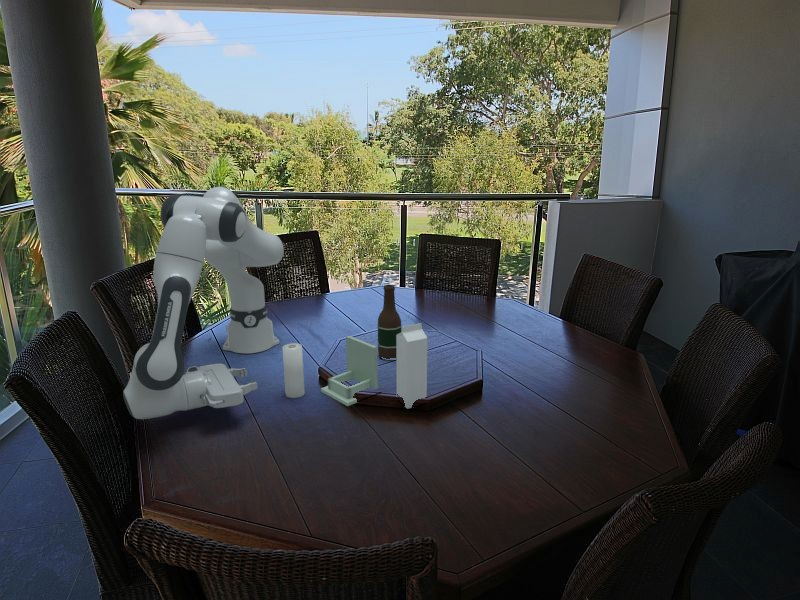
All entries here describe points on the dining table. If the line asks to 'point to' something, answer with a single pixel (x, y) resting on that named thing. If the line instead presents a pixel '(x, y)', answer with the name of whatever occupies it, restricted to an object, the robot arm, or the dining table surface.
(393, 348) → the beer bottle
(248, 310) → the robot arm
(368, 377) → the holder
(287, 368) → the roll
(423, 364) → the milk
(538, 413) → the dining table surface
